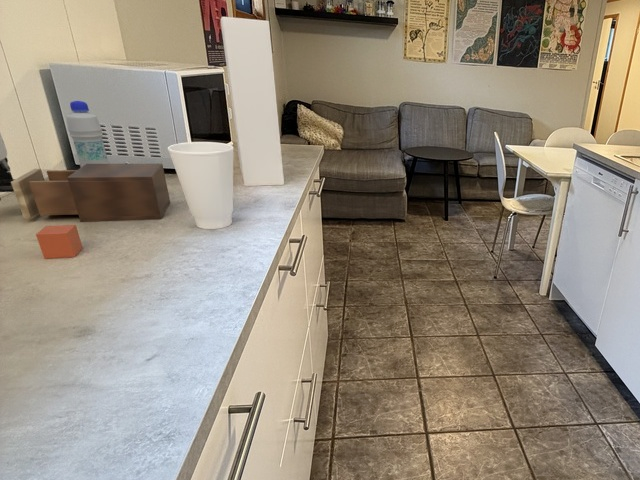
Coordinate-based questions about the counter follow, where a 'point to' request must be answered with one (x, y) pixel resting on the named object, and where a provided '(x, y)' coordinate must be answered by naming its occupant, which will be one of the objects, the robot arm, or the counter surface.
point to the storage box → (253, 99)
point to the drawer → (43, 193)
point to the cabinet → (119, 192)
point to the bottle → (86, 135)
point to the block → (59, 241)
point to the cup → (206, 181)
